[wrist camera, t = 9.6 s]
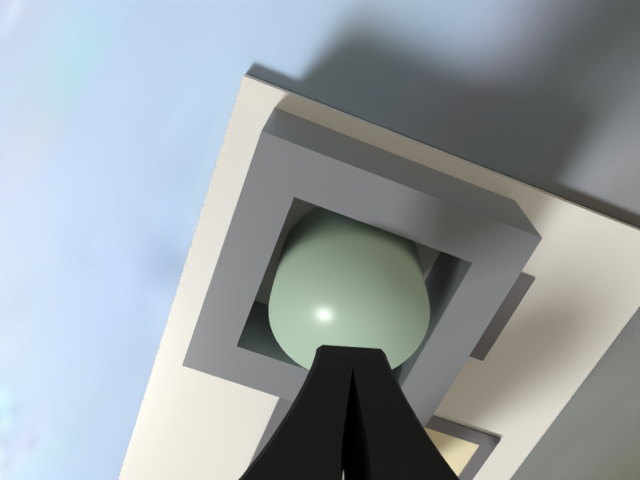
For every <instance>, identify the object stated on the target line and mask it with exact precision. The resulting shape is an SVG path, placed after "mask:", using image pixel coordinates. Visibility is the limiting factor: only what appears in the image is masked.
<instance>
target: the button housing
mask: <svg viewBox="0 0 640 480" xmlns="http://www.w3.org/2000/svg"><path fill="white" fill-rule="evenodd" d="M294 197H296V198H298V199H301V200H304V201H307V202H309V203H312V204H315V205H317V206H320V207H323V208H326V209H328V210H331V211H334V212H336V213H339V214H342V215H344V216H347V217H350V218H353V219H355V220H358V221H361V222H363V223H366V224H369V225H371V226H374V227H377V228H380V229H382V230H385V231H388V232H390V233H393V234H396V235H399V236H401V237H404V238H407V239H409V240H412V241H415V242H417V243H420V244H423V245H426V246H428V247H431V248H434V249H436V250H439V251H440V253H439V255H438V257H437V259H436V261H435V262H434V264H433V266H432V268H431V270H430V272H429V274H428V276H427V277H426V279H425V281H424V282H425V286H426V290H427V294H428V299H429V305H430V319H429V325H428V328H427V332H426V334H425V336H424V338H423V341H422V342H421V344H420V345H419V347H418V348H417V350H416V351H415V352H414V353H413V354H412V355H411V356H410V357H409V358H408V359H407V360H406V361H404V362H403V363H402V364H400V365H399V366H397V367H396V368H394V369H392V371H393V373H394V375H395V377H396V380H397V382H398V384H399V386H400V387H401V389H402V391H403V393H404V395H405V397H406V399H407V401H408V402H409V404H410V406H411V408H412V409H413V411H414V413H415V414H416V416H417V418H418V419H419V421H420V423H421V425H422V426H423V428H425V427H426V425H427V423H428V422H429V420H430V419H431V417H432V415H433V414H434V412H435V410H436V409H437V407H438V406H439V404H440V402H441V401H442V399H443V398H444V396H445V394H446V393H447V391H448V389H449V388H450V386H451V385H452V383H453V381H454V380H455V378H456V377H457V375H458V373H459V372H460V370H461V368H462V367H463V365H464V364H465V362H466V360H467V359H468V357H469V356H470V354H471V352H472V351H473V349H474V347H475V346H476V344H477V343H478V341H479V339H480V338H481V336H482V335H483V333H484V331H485V330H486V328H487V326H488V325H489V323H490V322H491V320H492V318H493V317H494V315H495V314H496V312H497V310H498V309H499V307H500V305H501V304H502V302H503V301H504V299H505V297H506V296H507V294H508V293H509V291H510V289H511V288H512V286H513V284H514V283H515V281H516V280H517V278H518V276H519V275H520V273H521V272H522V270H523V268H524V267H525V265H526V263H527V262H528V260H529V259H530V257H531V255H532V254H533V252H534V251H535V249H536V247H537V246H538V244H539V243H540V241H541V239H542V237H541V236H540V234H539V233H538V232H537V230H536V229H535V227H534V226H533V225H532V223H531V222H530V220H529V219H528V218H527V216H526V215H525V213H524V212H523V211H522V209H521V208H520V206H519V205H518V204H517V202H516V201H515V200H513V199H510V198H507V197H505V196H502V195H500V194H497V193H494V192H492V191H489V190H487V189H484V188H482V187H479V186H476V185H474V184H471V183H469V182H466V181H463V180H461V179H458V178H456V177H453V176H451V175H448V174H445V173H443V172H440V171H438V170H435V169H432V168H430V167H427V166H425V165H422V164H419V163H417V162H414V161H412V160H409V159H407V158H404V157H401V156H399V155H396V154H394V153H391V152H388V151H386V150H383V149H381V148H378V147H376V146H373V145H370V144H368V143H365V142H363V141H360V140H357V139H355V138H352V137H350V136H347V135H345V134H342V133H339V132H337V131H334V130H332V129H329V128H326V127H324V126H321V125H319V124H316V123H314V122H311V121H308V120H306V119H303V118H301V117H298V116H295V115H293V114H290V113H288V112H285V111H283V110H280V109H277V108H275V107H274V109H273V111H272V113H271V114H270V116H269V118H268V120H267V122H266V124H265V125H264V127H263V129H262V131H261V134H260V137H259V140H258V143H257V145H256V148H255V151H254V154H253V157H252V160H251V163H250V166H249V169H248V172H247V175H246V178H245V181H244V184H243V187H242V190H241V193H240V196H239V199H238V202H237V205H236V208H235V211H234V213H233V216H232V219H231V222H230V225H229V228H228V231H227V234H226V237H225V240H224V243H223V246H222V249H221V252H220V255H219V258H218V261H217V264H216V267H215V270H214V273H213V276H212V279H211V282H210V284H209V287H208V290H207V293H206V296H205V299H204V302H203V305H202V308H201V311H200V314H199V317H198V320H197V323H196V326H195V329H194V332H193V335H192V338H191V341H190V344H189V347H188V350H187V353H186V355H185V358H184V361H183V364H182V366H185V367H188V368H191V369H194V370H197V371H200V372H203V373H206V374H209V375H213V376H216V377H219V378H222V379H225V380H228V381H231V382H234V383H237V384H240V385H243V386H246V387H249V388H252V389H255V390H259V391H262V392H265V393H268V394H271V395H274V396H277V397H280V398H283V399H286V400H289V401H292V402H294V400H295V398H296V396H297V395H298V393H299V391H300V389H301V387H302V385H303V383H304V381H305V379H306V377H307V375H308V373H309V370H308V369H306V368H304V367H302V366H301V365H299V364H298V363H297V362H295V361H294V360H293V359H292V358H291V357H289V356H288V355H287V354H286V353H285V351H284V350H283V349H282V348H281V346H280V345H279V343H278V342H277V340H276V338H275V336H274V334H273V332H272V329H271V326H270V321H269V305H266V304H264V303H261V302H258V301H255V297H256V294H257V292H258V289H259V287H260V284H261V281H262V279H263V276H264V274H265V271H266V268H267V266H268V263H269V261H270V258H271V256H272V253H273V250H274V248H275V245H276V243H277V240H278V237H279V235H280V232H281V230H282V227H283V224H284V222H285V219H286V217H287V214H288V211H289V209H290V206H291V204H292V201H293V198H294Z"/></svg>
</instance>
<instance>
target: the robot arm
mask: <svg viewBox="0 0 640 480" xmlns="http://www.w3.org/2000/svg"><path fill="white" fill-rule="evenodd" d="M343 469H344V480H460V479H459V478H458V476H457V475H456V474H455V472H454V471H453V470H452V469H451V467H450V466H449V464H448V463H447V462H446V460H445V459H444V458H443V456H442V455H441V453H440V452H439V450H438V449H437V447H436V446H435V444H434V443H433V442H432V440H431V439H430V437H429V436H428V434H427V432H426V431H425V429H424V428H423V426H422V425H421V423H420V421H419V419H418V418H417V416H416V414H415V413H414V411H413V409H412V408H411V406H410V404H409V402H408V401H407V399H406V397H405V395H404V393H403V391H402V389H401V387H400V386H399V384H398V382H397V380H396V377H395V375H394V373H393V371H392V369H391V367H390V364H389V362H388V359H387V356H386V354H385V353H384V352H383V350H382V349H378V348H363V347H349V346H334V345H321V346H320V347H318V348H317V349H316V353H315V357H314V360H313V363H312V366H311V368H310V370H309V373H308V375H307V377H306V379H305V381H304V383H303V385H302V387H301V389H300V391H299V393H298V395H297V396H296V398H295V400H294V402H293V404H292V405H291V407H290V409H289V411H288V412H287V414H286V415H285V417H284V419H283V420H282V422H281V423H280V425H279V426H278V428H277V429H276V431H275V432H274V434H273V435H272V437H271V438H270V440H269V441H268V443H267V444H266V445H265V447H264V448H263V449H262V451H261V452H260V453H259V455H258V456H257V457H256V459H255V460H254V461H253V462H252V464H251V465H250V466H249V467H248V469H247V470H246V471H245V472H244V474H243V475H242V476H241V477H240V478H239V479H238V480H342V477H343Z"/></svg>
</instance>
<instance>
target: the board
mask: <svg viewBox="0 0 640 480" xmlns="http://www.w3.org/2000/svg"><path fill="white" fill-rule="evenodd" d="M274 107H275V108H277V109H280V110H283V111H285V112H288V113H290V114H293V115H295V116H298V117H301V118H303V119H306V120H308V121H311V122H314V123H316V124H319V125H321V126H324V127H326V128H329V129H332V130H334V131H337V132H339V133H342V134H345V135H347V136H350V137H352V138H355V139H357V140H360V141H363V142H365V143H368V144H370V145H373V146H376V147H378V148H381V149H383V150H386V151H388V152H391V153H394V154H396V155H399V156H401V157H404V158H407V159H409V160H412V161H414V162H417V163H419V164H422V165H425V166H427V167H430V168H432V169H435V170H438V171H440V172H443V173H445V174H448V175H451V176H453V177H456V178H458V179H461V180H463V181H466V182H469V183H471V184H474V185H476V186H479V187H482V188H484V189H487V190H489V191H492V192H494V193H497V194H500V195H502V196H505V197H507V198H510V199H513V200H515V201H516V202H517V204H518V205H519V206H520V208H521V209H522V211H523V212H524V213H525V215H526V216H527V218H528V219H529V220H530V222H531V223H532V225H533V226H534V227H535V229H536V230H537V232H538V233H539V234H540V236H541V237H542V239H541V241H540V243H539V244H538V246H537V247H536V249H535V251H534V252H533V254H532V255H531V257H530V259H529V260H528V262H527V263H526V265H525V267H524V268H523V270H522V272H521V273H520V275H519V276H518V278H517V280H516V281H515V283H514V284H513V286H512V288H511V289H510V291H509V293H508V294H507V296H506V297H505V299H504V301H503V302H502V304H501V305H500V307H499V309H498V310H497V312H496V314H495V315H494V317H493V318H492V320H491V322H490V323H489V325H488V326H487V328H486V330H485V331H484V333H483V335H482V336H481V338H480V339H479V341H478V343H477V344H476V346H475V347H474V349H473V351H472V352H471V354H470V356H469V357H468V359H467V360H466V362H465V364H464V365H463V367H462V368H461V370H460V372H459V373H458V375H457V377H456V378H455V380H454V381H453V383H452V385H451V386H450V388H449V389H448V391H447V393H446V394H445V396H444V398H443V399H442V401H441V402H440V404H439V406H438V407H437V409H436V410H435V412H434V414H433V415H432V417H431V419H430V420H429V422H428V423H427V425H426V427H425V428H424V429H425V431H426V432H427V434H428V436H429V437H430V439H431V440H432V442H433V443H434V444H435V446H436V447H437V449H438V450H439V452H440V453H441V455H442V456H443V458H444V459H445V460H446V462H447V463H448V464H449V466H450V467H451V469H452V470H453V471H454V472H455V474H456V475H457V476H458V478H459V479H460V480H509V479H510V478H511V477H512V475H513V474H514V473H515V471H516V470H517V469H518V467H519V466H520V465H521V463H522V462H523V461H524V459H525V458H526V457H527V455H528V454H529V453H530V451H531V450H532V449H533V447H534V446H535V445H536V443H537V442H538V441H539V439H540V438H541V437H542V435H543V434H544V433H545V431H546V430H547V429H548V427H549V426H550V425H551V423H552V422H553V421H554V419H555V418H556V417H557V415H558V414H559V413H560V412H561V410H562V409H563V408H564V406H565V405H566V404H567V402H568V401H569V400H570V398H571V397H572V396H573V394H574V393H575V392H576V390H577V389H578V388H579V386H580V385H581V384H582V382H583V381H584V380H585V378H586V377H587V376H588V374H589V373H590V372H591V370H592V369H593V368H594V366H595V365H596V364H597V362H598V361H599V360H600V358H601V357H602V356H603V354H604V353H605V352H606V350H607V349H608V348H609V346H610V345H611V344H612V342H613V341H614V340H615V338H616V337H617V336H618V334H619V333H620V332H621V330H622V329H623V328H624V326H625V325H626V324H627V322H628V321H629V320H630V318H631V317H632V316H633V314H634V313H635V312H636V310H637V309H638V308H639V306H640V228H638V227H635V226H633V225H630V224H628V223H625V222H623V221H620V220H617V219H615V218H612V217H610V216H607V215H605V214H602V213H600V212H597V211H594V210H592V209H589V208H587V207H584V206H582V205H579V204H577V203H574V202H571V201H569V200H566V199H564V198H561V197H559V196H556V195H554V194H551V193H549V192H546V191H543V190H541V189H538V188H536V187H533V186H531V185H528V184H526V183H523V182H520V181H518V180H515V179H513V178H510V177H508V176H505V175H503V174H500V173H497V172H495V171H492V170H490V169H487V168H485V167H482V166H480V165H477V164H474V163H472V162H469V161H467V160H464V159H462V158H459V157H457V156H454V155H452V154H449V153H446V152H444V151H441V150H439V149H436V148H434V147H431V146H429V145H426V144H423V143H421V142H418V141H416V140H413V139H411V138H408V137H406V136H403V135H400V134H398V133H395V132H393V131H390V130H388V129H385V128H383V127H380V126H377V125H375V124H372V123H370V122H367V121H365V120H362V119H360V118H357V117H355V116H352V115H349V114H347V113H344V112H342V111H339V110H337V109H334V108H332V107H329V106H326V105H324V104H321V103H319V102H316V101H314V100H311V99H309V98H306V97H303V96H301V95H298V94H296V93H293V92H291V91H288V90H286V89H283V88H280V87H278V86H275V85H273V84H270V83H268V82H265V81H263V80H260V79H258V78H255V77H252V76H250V75H247V74H245V75H244V76H243V78H242V82H241V85H240V88H239V91H238V95H237V98H236V101H235V104H234V108H233V111H232V114H231V117H230V120H229V124H228V127H227V130H226V133H225V137H224V140H223V143H222V146H221V150H220V153H219V156H218V159H217V162H216V166H215V169H214V172H213V175H212V179H211V182H210V185H209V188H208V192H207V195H206V198H205V201H204V204H203V208H202V211H201V214H200V217H199V221H198V224H197V227H196V230H195V233H194V237H193V240H192V243H191V246H190V250H189V253H188V256H187V259H186V263H185V266H184V269H183V272H182V275H181V279H180V282H179V285H178V288H177V292H176V295H175V298H174V301H173V305H172V308H171V311H170V314H169V317H168V321H167V324H166V327H165V330H164V334H163V337H162V340H161V343H160V347H159V350H158V353H157V356H156V359H155V363H154V366H153V369H152V372H151V376H150V379H149V382H148V385H147V389H146V392H145V395H144V398H143V401H142V405H141V408H140V411H139V414H138V418H137V421H136V424H135V427H134V431H133V434H132V437H131V440H130V443H129V447H128V450H127V453H126V456H125V460H124V463H123V466H122V469H121V473H120V476H119V479H118V480H238V479H239V478H240V477H241V476H242V475H243V474H244V472H245V471H246V470H247V469H248V467H249V466H250V465H251V464H252V462H253V461H254V460H255V459H256V457H257V456H258V455H259V453H260V452H261V451H262V449H263V448H264V447H265V445H266V444H267V443H268V441H269V440H270V438H271V437H272V435H273V434H274V432H275V431H276V429H277V428H278V426H279V425H280V423H281V422H282V420H283V419H284V417H285V415H286V414H287V412H288V411H289V409H290V407H291V405H292V404H293V402H292V401H289V400H286V399H283V398H280V397H277V396H274V395H271V394H268V393H265V392H262V391H259V390H255V389H252V388H249V387H246V386H243V385H240V384H237V383H234V382H231V381H228V380H225V379H222V378H219V377H216V376H213V375H209V374H206V373H203V372H200V371H197V370H194V369H191V368H188V367H185V366H182V364H183V361H184V358H185V355H186V353H187V350H188V347H189V344H190V341H191V338H192V335H193V332H194V329H195V326H196V323H197V320H198V317H199V314H200V311H201V308H202V305H203V302H204V299H205V296H206V293H207V290H208V287H209V284H210V282H211V279H212V276H213V273H214V270H215V267H216V264H217V261H218V258H219V255H220V252H221V249H222V246H223V243H224V240H225V237H226V234H227V231H228V228H229V225H230V222H231V219H232V216H233V213H234V211H235V208H236V205H237V202H238V199H239V196H240V193H241V190H242V187H243V184H244V181H245V178H246V175H247V172H248V169H249V166H250V163H251V160H252V157H253V154H254V151H255V148H256V145H257V143H258V140H259V137H260V134H261V131H262V129H263V127H264V125H265V124H266V122H267V120H268V118H269V116H270V114H271V113H272V111H273V109H274ZM318 208H320V206H317V205H315V204H312V203H309V202H307V201H304V200H301V199H298V198H296V197H294V198H293V201H292V204H291V206H290V209H289V211H288V214H287V217H286V219H285V222H284V224H283V227H282V230H281V232H280V235H279V237H278V240H277V243H276V245H275V248H274V250H273V253H272V256H271V258H270V261H269V263H268V266H267V268H266V271H265V274H264V276H263V279H262V281H261V284H260V287H259V289H258V292H257V294H256V297H255V301H258V302H261V303H264V304H266V305H269V300H270V295H271V291H272V287H273V283H274V279H275V275H276V271H277V267H278V263H279V258H280V254H281V250H282V247H283V244H284V241H285V239H286V237H287V235H288V234H289V232H290V231H291V229H292V228H293V227H294V225H295V224H296V223H297V222H298V221H299V220H300V219H302V218H303V217H304V216H305V215H307V214H308V213H310V212H311V211H313V210H315V209H318ZM414 243H415V246H416V248H417V252H418V256H419V261H420V265H421V269H422V273H423V277H424V281H425V279H426V277H427V276H428V274H429V272H430V270H431V268H432V266H433V264H434V262H435V261H436V259H437V257H438V255H439V253H440V251H439V250H436V249H434V248H431V247H428V246H426V245H423V244H420V243H417V242H415V241H414Z"/></svg>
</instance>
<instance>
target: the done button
mask: <svg viewBox="0 0 640 480" xmlns="http://www.w3.org/2000/svg"><path fill="white" fill-rule="evenodd" d="M429 319H430V305H429V299H428V294H427V290H426V286H425V282H424V277H423V273H422V269H421V265H420V261H419V256H418V252H417V248H416V246H415V243H414V241H412V240H409V239H407V238H404V237H401V236H399V235H396V234H393V233H390V232H388V231H385V230H382V229H380V228H377V227H374V226H371V225H369V224H366V223H363V222H361V221H358V220H355V219H353V218H350V217H347V216H344V215H342V214H339V213H336V212H334V211H331V210H328V209H326V208H323V207H320V208H318V209H315V210H313V211H311V212H310V213H308V214H307V215H305V216H304V217H303V218H302V219H300V220H299V221H298V222H297V223H296V224H295V225H294V227H293V228H292V229H291V231H290V232H289V234H288V235H287V237H286V239H285V241H284V244H283V247H282V250H281V254H280V258H279V263H278V267H277V271H276V275H275V279H274V283H273V287H272V291H271V295H270V300H269V321H270V326H271V329H272V332H273V334H274V336H275V338H276V340H277V342H278V343H279V345H280V346H281V348H282V349H283V350H284V351H285V353H286V354H287V355H288V356H289V357H291V358H292V359H293V360H294V361H295V362H297V363H298V364H299V365H301V366H302V367H304V368H306V369H308V370H310V368H311V366H312V363H313V360H314V357H315V353H316V349H317V348H318V347H320V346H321V345H334V346H349V347H363V348H378V349H382V350H383V352H384V353H385V354H386V356H387V359H388V362H389V364H390V367H391V369H394V368H396V367H397V366H399V365H400V364H402V363H403V362H404V361H406V360H407V359H408V358H409V357H410V356H411V355H412V354H413V353H414V352H415V351H416V350H417V348H418V347H419V345H420V344H421V342H422V341H423V338H424V336H425V334H426V332H427V328H428V325H429Z"/></svg>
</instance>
